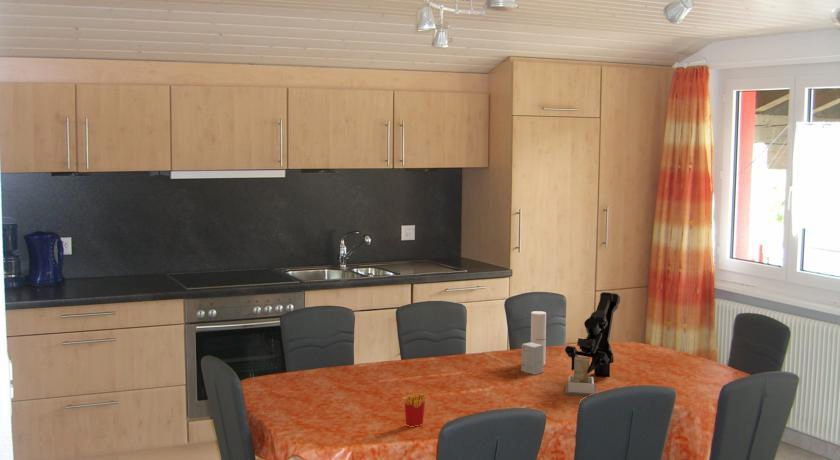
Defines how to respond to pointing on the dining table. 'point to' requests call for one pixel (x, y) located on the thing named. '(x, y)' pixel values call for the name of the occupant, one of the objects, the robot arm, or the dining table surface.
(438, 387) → the dining table surface
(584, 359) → the skincare box
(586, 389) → the holder
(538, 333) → the cylindrical container
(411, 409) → the french fries
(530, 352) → the small box
